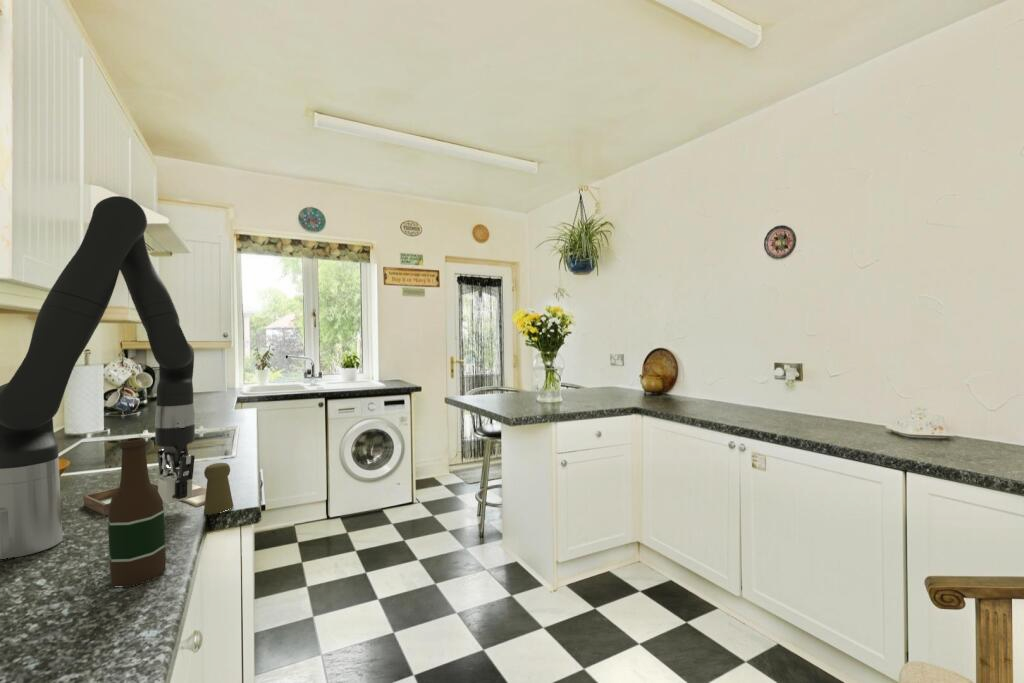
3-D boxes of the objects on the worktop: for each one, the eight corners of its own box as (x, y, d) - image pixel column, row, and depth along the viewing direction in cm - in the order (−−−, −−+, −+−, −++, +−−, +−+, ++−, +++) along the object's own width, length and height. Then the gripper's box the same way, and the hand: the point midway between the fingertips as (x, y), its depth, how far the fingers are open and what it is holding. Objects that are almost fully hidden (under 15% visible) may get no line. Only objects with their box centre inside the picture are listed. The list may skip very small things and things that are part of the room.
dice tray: (104, 515, 108) (104, 505, 108) (83, 505, 115) (83, 495, 114) (168, 497, 119) (168, 488, 119) (146, 489, 126) (146, 480, 126)
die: (167, 503, 105) (167, 481, 105) (158, 499, 108) (158, 478, 108) (192, 497, 110) (192, 476, 110) (183, 493, 112) (182, 472, 112)
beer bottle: (101, 593, 75) (94, 447, 74) (119, 571, 82) (113, 437, 81) (159, 582, 78) (153, 441, 77) (172, 561, 85) (167, 432, 84)
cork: (209, 516, 106) (207, 469, 105) (199, 511, 109) (197, 465, 109) (238, 508, 111) (236, 462, 110) (227, 503, 114) (225, 459, 114)
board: (197, 506, 112) (197, 503, 112) (152, 490, 125) (152, 487, 125) (227, 497, 118) (227, 494, 118) (181, 482, 131) (181, 480, 131)
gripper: (143, 423, 109) (144, 495, 109) (170, 429, 102) (170, 506, 102) (180, 418, 116) (180, 486, 116) (207, 424, 108) (207, 496, 108)
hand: (175, 495), depth 109 cm, fingers closed on die, 5 cm apart
